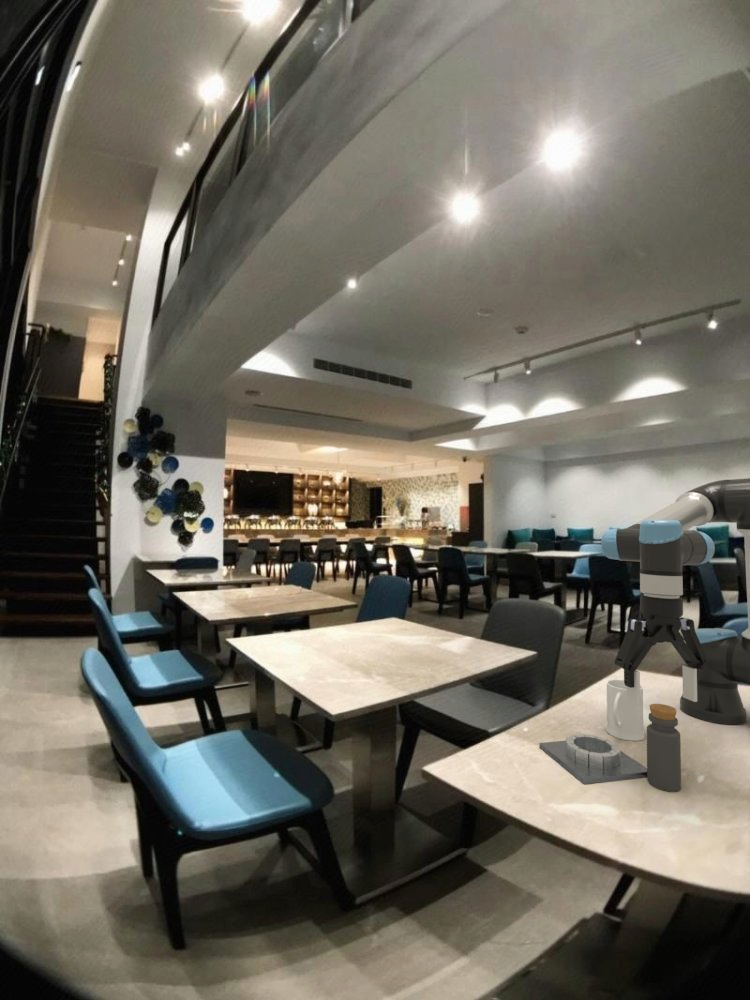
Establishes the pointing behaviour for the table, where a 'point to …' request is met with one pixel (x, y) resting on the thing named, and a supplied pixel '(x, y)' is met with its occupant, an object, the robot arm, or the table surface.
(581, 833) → the table surface
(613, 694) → the mug
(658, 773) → the bottle
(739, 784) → the table surface
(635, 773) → the collar plate
